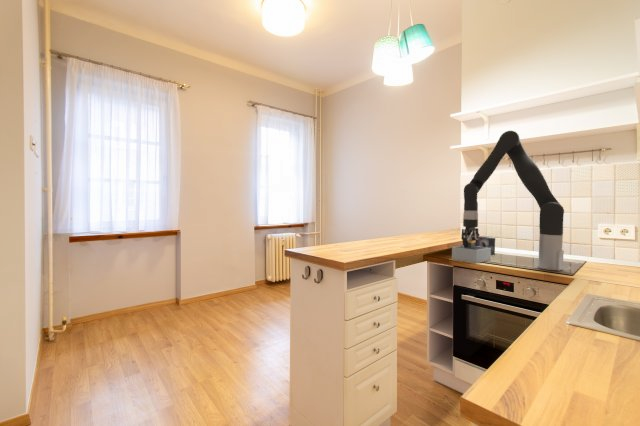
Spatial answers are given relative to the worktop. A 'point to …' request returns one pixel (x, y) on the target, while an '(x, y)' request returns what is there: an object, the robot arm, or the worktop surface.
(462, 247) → the walled box
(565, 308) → the worktop surface
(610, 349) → the worktop surface
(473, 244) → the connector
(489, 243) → the small box
